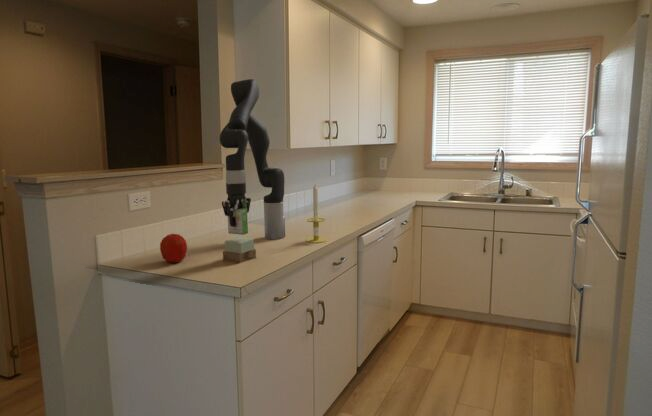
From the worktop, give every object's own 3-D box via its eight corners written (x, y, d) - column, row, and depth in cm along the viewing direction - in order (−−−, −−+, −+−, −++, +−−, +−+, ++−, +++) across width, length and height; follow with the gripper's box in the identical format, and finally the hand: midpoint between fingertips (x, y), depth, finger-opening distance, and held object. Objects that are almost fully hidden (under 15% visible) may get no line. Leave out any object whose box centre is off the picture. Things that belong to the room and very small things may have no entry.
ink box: (227, 233, 181) (226, 199, 179) (234, 232, 184) (232, 198, 182) (242, 235, 177) (240, 200, 175) (248, 233, 181) (247, 199, 179)
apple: (156, 261, 180) (154, 232, 178) (180, 257, 187) (178, 229, 185) (168, 266, 173) (166, 236, 171) (192, 261, 180) (191, 232, 178)
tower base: (239, 255, 189) (238, 246, 188) (255, 258, 184) (255, 249, 183) (223, 261, 181) (222, 251, 181) (240, 264, 176) (239, 253, 176)
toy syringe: (312, 237, 220) (311, 181, 216) (331, 239, 215) (330, 182, 211) (301, 241, 212) (300, 183, 208) (319, 243, 207) (318, 184, 203)
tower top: (238, 246, 187) (238, 237, 187) (254, 248, 184) (253, 239, 183) (225, 251, 181) (224, 241, 180) (241, 253, 177) (240, 243, 176)
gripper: (241, 180, 186) (243, 221, 188) (215, 183, 174) (217, 227, 177) (255, 180, 182) (257, 223, 184) (229, 183, 170) (231, 229, 172)
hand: (237, 225), depth 180 cm, fingers closed on ink box, 4 cm apart
